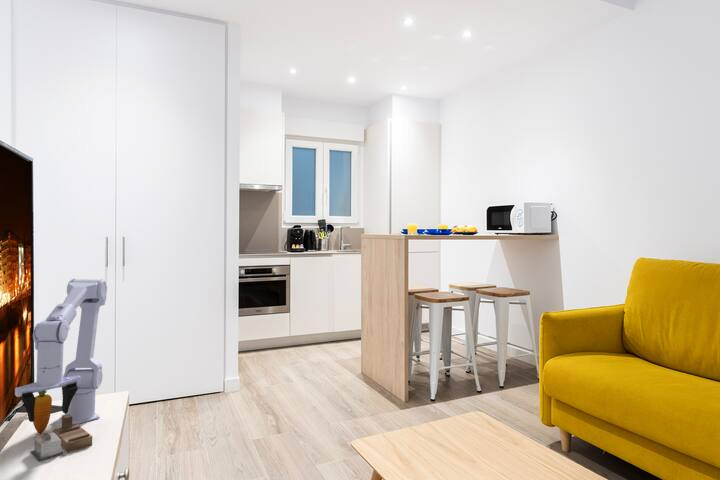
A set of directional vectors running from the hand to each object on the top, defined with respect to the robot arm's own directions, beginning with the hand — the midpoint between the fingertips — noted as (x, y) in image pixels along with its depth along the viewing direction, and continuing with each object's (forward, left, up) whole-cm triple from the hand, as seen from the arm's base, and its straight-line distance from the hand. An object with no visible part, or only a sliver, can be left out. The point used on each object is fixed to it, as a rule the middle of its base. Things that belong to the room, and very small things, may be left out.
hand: (48, 416), depth 119 cm
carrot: (-13, +2, -10) cm, 17 cm away
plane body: (-2, +7, -10) cm, 12 cm away
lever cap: (0, 0, -10) cm, 10 cm away
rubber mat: (0, 0, -10) cm, 10 cm away
